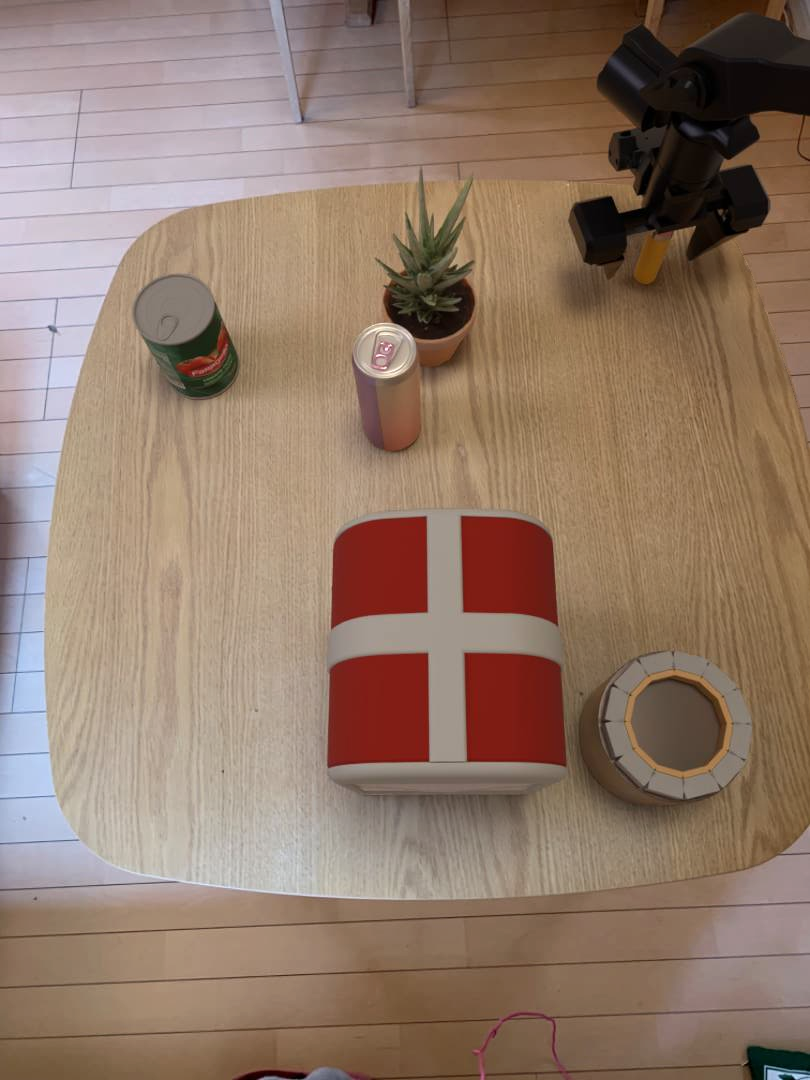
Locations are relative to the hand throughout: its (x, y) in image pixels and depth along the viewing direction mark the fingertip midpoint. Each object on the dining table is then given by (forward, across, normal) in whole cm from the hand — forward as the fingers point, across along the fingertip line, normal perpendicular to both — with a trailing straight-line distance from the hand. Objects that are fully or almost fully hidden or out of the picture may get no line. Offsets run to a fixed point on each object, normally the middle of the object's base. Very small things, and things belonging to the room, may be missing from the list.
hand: (648, 267), depth 91 cm
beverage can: (+2, +31, +11) cm, 33 cm away
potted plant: (+2, +25, +2) cm, 25 cm away
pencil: (+1, 0, 0) cm, 1 cm away
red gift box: (+2, +33, +39) cm, 51 cm away
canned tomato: (+2, +49, -1) cm, 49 cm away
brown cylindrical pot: (+1, +16, +47) cm, 50 cm away
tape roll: (-8, +16, +47) cm, 50 cm away
